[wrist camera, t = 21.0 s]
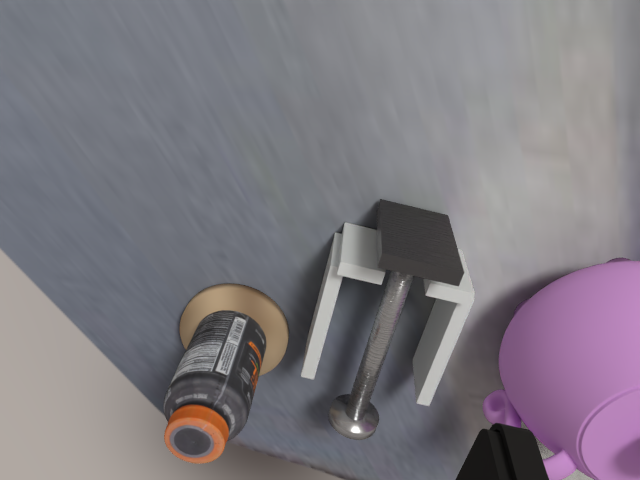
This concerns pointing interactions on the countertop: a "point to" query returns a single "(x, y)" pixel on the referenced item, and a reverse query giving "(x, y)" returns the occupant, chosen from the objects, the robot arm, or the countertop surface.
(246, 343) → the pill bottle
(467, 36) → the countertop surface
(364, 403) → the plunger rod
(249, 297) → the wooden coaster
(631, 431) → the teapot
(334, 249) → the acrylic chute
